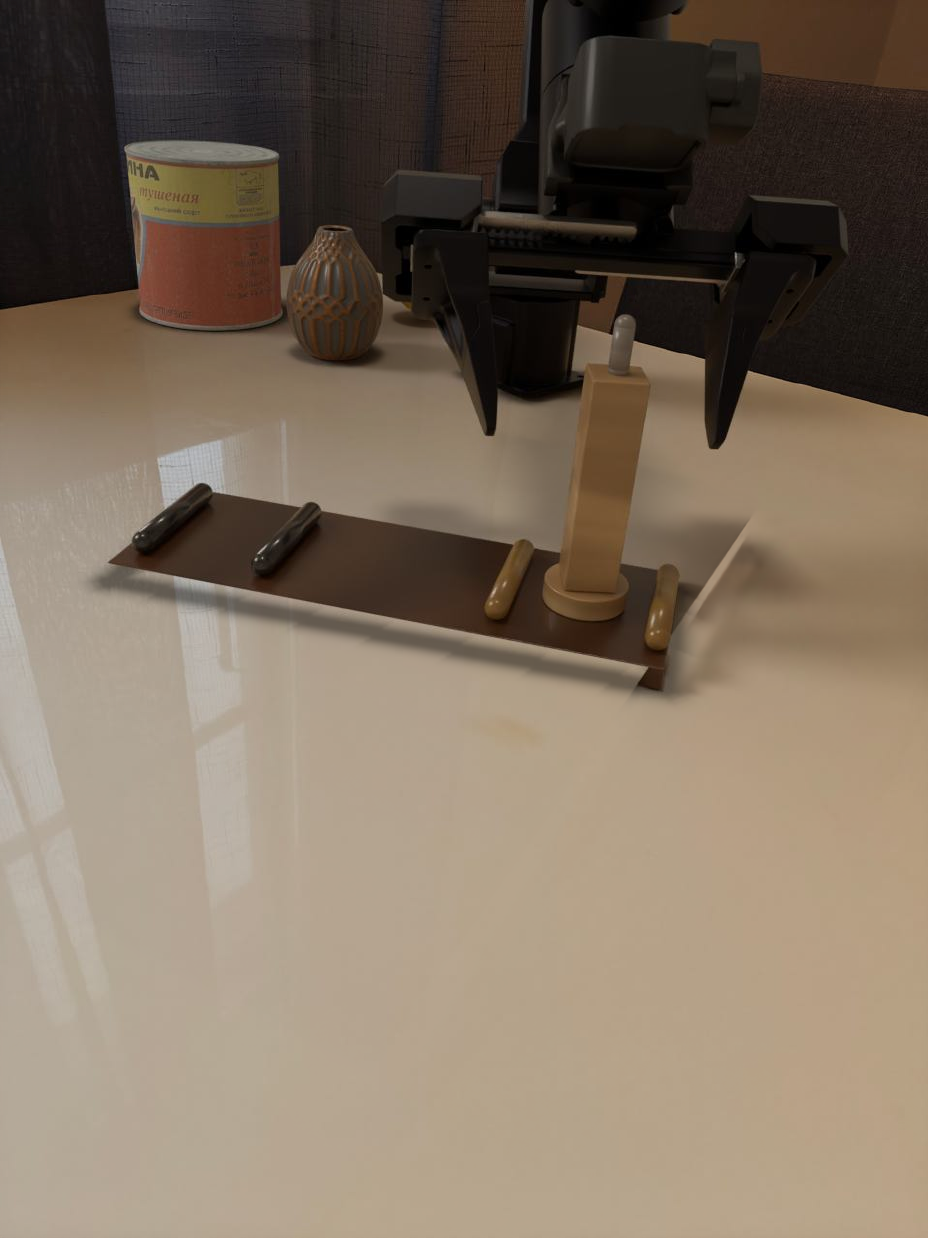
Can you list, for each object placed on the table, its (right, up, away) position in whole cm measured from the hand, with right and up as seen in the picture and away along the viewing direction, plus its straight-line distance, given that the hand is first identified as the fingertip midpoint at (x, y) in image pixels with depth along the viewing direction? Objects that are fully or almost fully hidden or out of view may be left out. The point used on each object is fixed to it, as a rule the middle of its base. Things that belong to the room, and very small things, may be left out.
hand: (604, 438), depth 41 cm
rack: (-8, -6, +5) cm, 11 cm away
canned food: (-26, +18, +42) cm, 52 cm away
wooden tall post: (-1, -6, +3) cm, 7 cm away
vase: (-15, +12, +34) cm, 40 cm away
